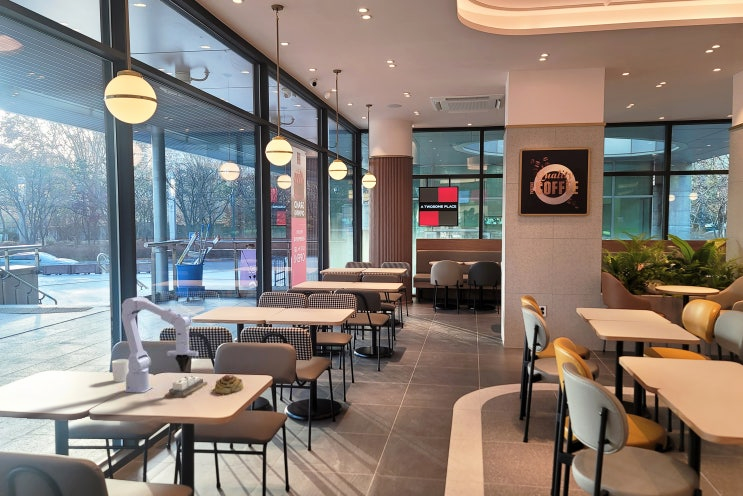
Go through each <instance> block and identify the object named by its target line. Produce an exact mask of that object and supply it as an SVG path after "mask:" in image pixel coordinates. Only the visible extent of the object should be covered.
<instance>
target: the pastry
mask: <svg viewBox="0 0 743 496" xmlns="http://www.w3.org/2000/svg"><path fill="white" fill-rule="evenodd" d="M242 380H243V379H240V378H238V377H237V376H235V375H234V374H225V375H224V376H221V378H219V379H217V380H216V382H215V386H214V390H213V392H214V393H213V394H215V393H216V394H215V395H219V394H221V395H222V396H224V395H225V396H227V395H231V394H233V393H238V392H241V391H242V390H244V385H243V381H242ZM223 394H224V395H223ZM226 394H227V395H226Z"/></svg>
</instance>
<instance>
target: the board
mask: <svg viewBox="0 0 743 496" xmlns="http://www.w3.org/2000/svg"><path fill="white" fill-rule="evenodd" d="M207 385H208V382H207V381H206V382H205V381H204V379H203V378H200V380H199V381H197V382H196V383H194V384H192V385H190V386H187V388H185V389H183V390H173V387H172V388H170V389H169V390H168V392H166V393H165V394H164V397H165V398H184V399H185V398H187V397H189V396H190V395H192V394H194V393H195V392H197V391H199V390H200V389H202V388H204V387H206V386H207ZM203 386H204V387H203Z"/></svg>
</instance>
